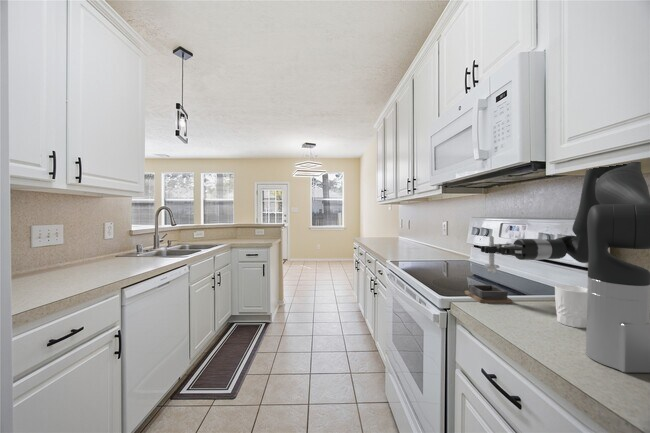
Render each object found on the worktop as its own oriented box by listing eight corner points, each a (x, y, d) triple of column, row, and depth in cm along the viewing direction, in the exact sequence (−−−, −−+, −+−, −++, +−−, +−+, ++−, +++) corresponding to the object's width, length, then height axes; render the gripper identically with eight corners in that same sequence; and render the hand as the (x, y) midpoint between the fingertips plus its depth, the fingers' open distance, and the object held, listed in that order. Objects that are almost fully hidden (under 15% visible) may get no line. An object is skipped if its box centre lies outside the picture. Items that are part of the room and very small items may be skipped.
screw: (483, 269, 105) (498, 270, 103) (484, 272, 101) (500, 273, 99) (483, 235, 105) (498, 235, 103) (484, 236, 101) (500, 236, 99)
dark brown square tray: (512, 302, 97) (512, 292, 97) (480, 302, 97) (480, 292, 97) (493, 293, 108) (493, 284, 108) (464, 293, 108) (464, 284, 108)
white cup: (598, 330, 75) (599, 293, 75) (564, 327, 77) (565, 291, 76) (578, 319, 83) (579, 285, 83) (548, 317, 84) (548, 283, 84)
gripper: (519, 237, 108) (473, 237, 109) (546, 240, 95) (494, 241, 95) (519, 256, 109) (473, 256, 109) (546, 263, 95) (494, 263, 95)
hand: (483, 249), depth 102 cm, fingers closed on screw, 2 cm apart
